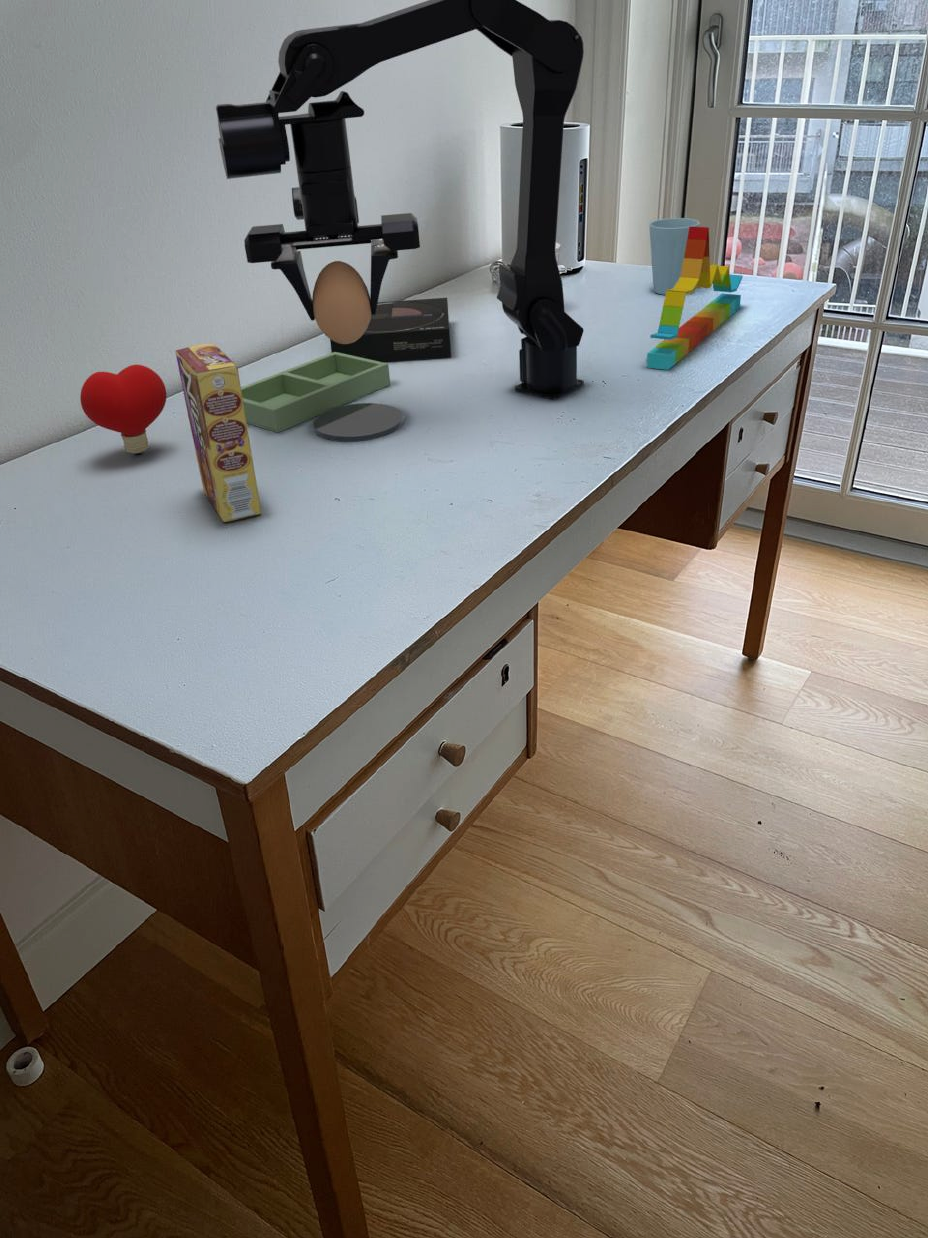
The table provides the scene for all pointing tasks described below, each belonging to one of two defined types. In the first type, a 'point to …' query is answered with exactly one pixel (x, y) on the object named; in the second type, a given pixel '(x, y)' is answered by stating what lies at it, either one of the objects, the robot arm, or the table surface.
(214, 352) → the candy box
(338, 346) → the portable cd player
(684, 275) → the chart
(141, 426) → the light bulb
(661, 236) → the cup
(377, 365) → the tray
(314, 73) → the robot arm
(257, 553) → the table surface
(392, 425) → the coaster
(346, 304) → the egg
